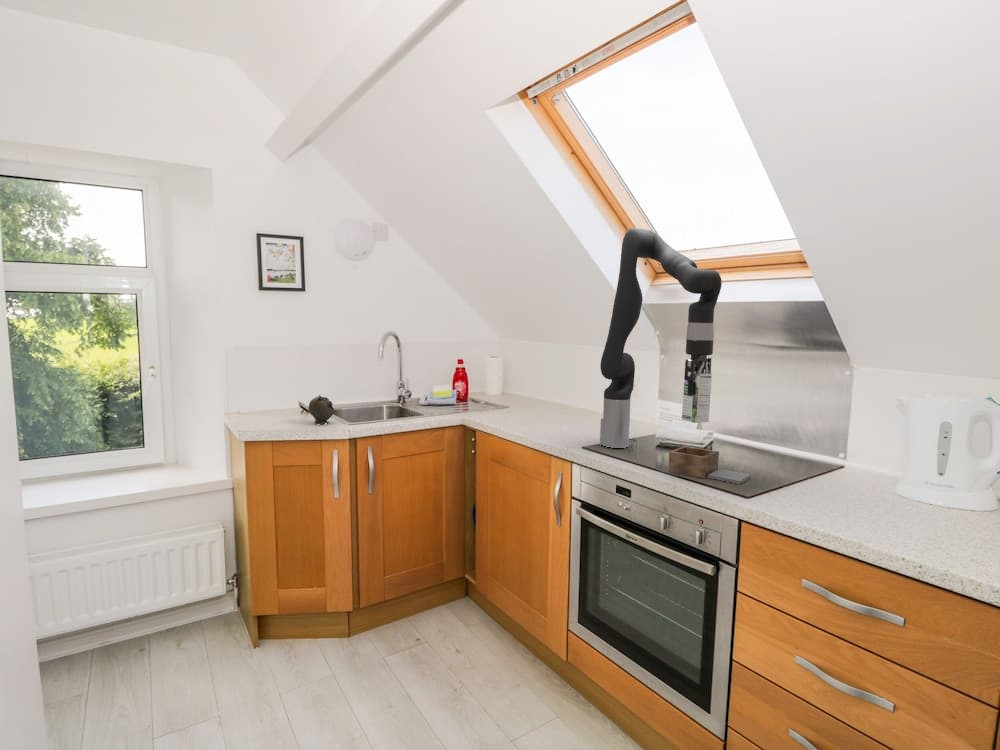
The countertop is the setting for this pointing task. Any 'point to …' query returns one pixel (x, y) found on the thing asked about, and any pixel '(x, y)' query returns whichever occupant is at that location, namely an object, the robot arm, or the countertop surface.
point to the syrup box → (697, 400)
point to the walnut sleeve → (693, 461)
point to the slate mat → (729, 476)
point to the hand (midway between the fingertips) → (697, 393)
